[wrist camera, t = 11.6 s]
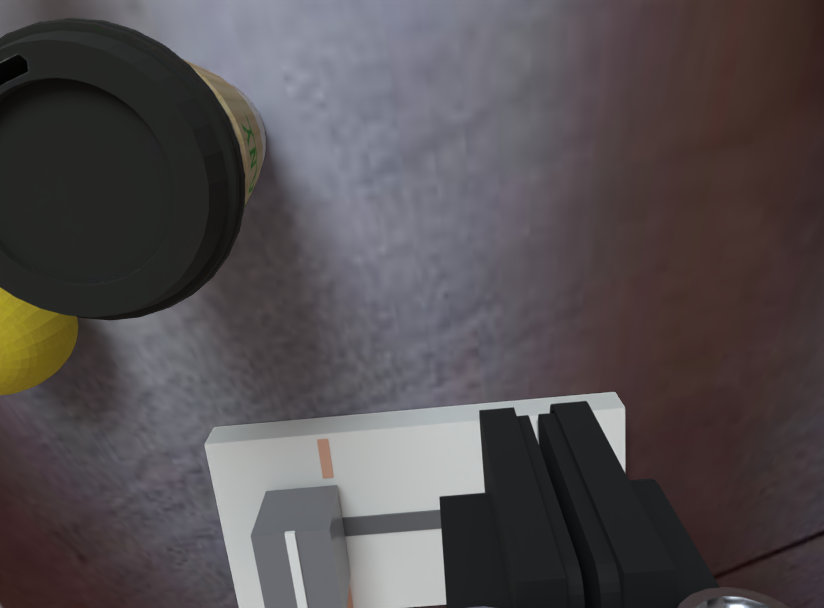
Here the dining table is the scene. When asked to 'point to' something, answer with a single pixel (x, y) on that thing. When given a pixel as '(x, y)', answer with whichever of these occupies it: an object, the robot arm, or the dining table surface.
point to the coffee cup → (117, 169)
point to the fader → (302, 549)
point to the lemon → (31, 343)
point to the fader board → (371, 487)
